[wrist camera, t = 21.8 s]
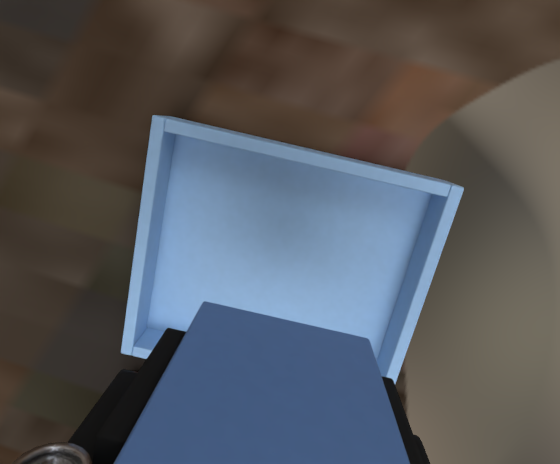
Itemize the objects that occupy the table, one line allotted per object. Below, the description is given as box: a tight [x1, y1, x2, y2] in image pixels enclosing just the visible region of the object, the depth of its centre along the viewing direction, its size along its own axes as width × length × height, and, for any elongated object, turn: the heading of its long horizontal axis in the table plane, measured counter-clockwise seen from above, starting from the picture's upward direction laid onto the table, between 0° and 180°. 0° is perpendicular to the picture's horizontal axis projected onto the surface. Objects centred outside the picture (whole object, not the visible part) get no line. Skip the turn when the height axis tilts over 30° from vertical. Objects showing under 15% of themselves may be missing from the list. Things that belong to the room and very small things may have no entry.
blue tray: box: [121, 115, 464, 384], centre depth 20 cm, size 14×12×2 cm
